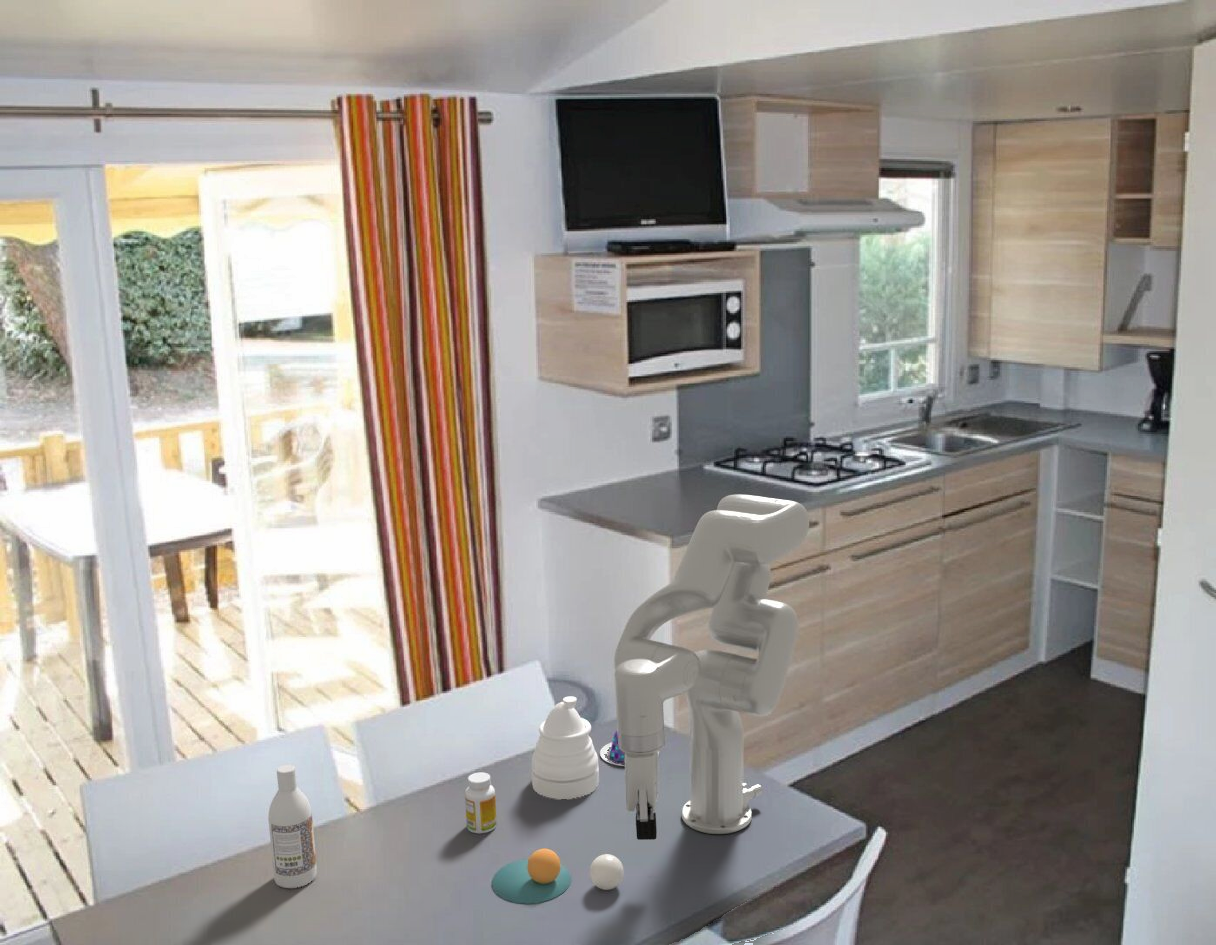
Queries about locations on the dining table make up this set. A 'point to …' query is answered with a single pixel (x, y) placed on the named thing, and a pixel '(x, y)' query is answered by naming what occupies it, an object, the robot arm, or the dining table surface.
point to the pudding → (614, 751)
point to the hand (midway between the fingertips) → (646, 836)
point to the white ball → (606, 872)
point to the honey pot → (565, 755)
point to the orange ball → (544, 866)
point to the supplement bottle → (480, 804)
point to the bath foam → (291, 833)
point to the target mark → (527, 884)
